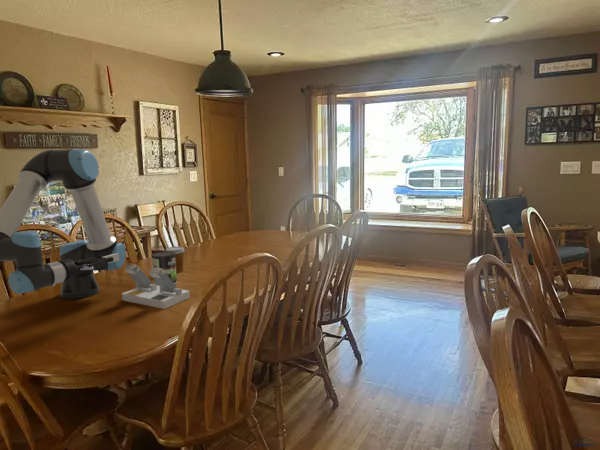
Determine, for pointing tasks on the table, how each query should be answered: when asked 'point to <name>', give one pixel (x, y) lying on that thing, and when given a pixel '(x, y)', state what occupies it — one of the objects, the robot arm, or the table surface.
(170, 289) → the paddle over charcoal tile
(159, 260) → the coffee can
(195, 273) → the table surface
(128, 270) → the paddle over amber tile
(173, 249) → the disposable coffee cup
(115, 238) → the robot arm
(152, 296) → the switch unit
